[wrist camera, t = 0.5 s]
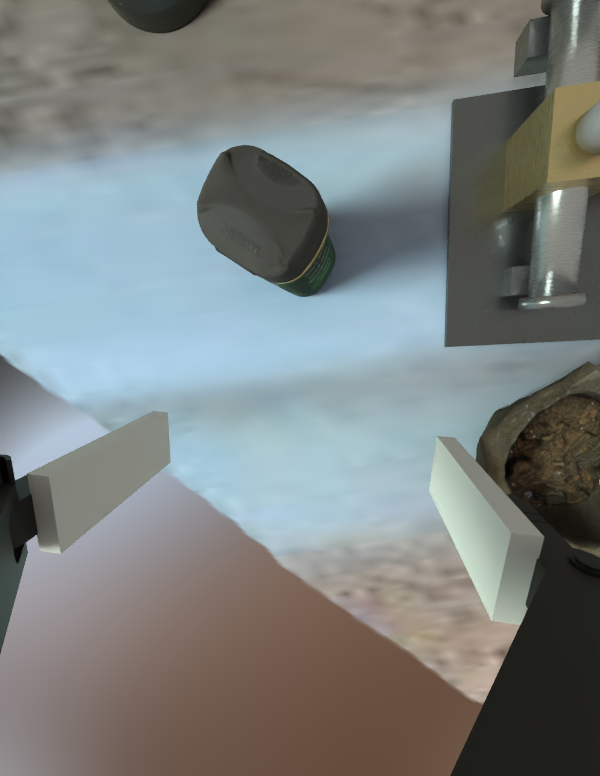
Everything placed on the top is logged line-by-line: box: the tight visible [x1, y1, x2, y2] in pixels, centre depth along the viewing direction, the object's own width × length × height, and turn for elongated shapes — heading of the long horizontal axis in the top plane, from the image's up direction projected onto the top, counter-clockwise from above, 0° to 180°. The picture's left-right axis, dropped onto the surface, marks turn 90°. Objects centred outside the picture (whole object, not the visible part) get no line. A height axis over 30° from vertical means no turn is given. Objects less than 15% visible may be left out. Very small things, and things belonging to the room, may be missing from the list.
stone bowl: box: [476, 362, 600, 557], centre depth 36 cm, size 25×25×9 cm
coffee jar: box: [197, 145, 335, 297], centre depth 30 cm, size 10×8×19 cm
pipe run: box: [444, 0, 600, 347], centre depth 30 cm, size 32×22×8 cm
